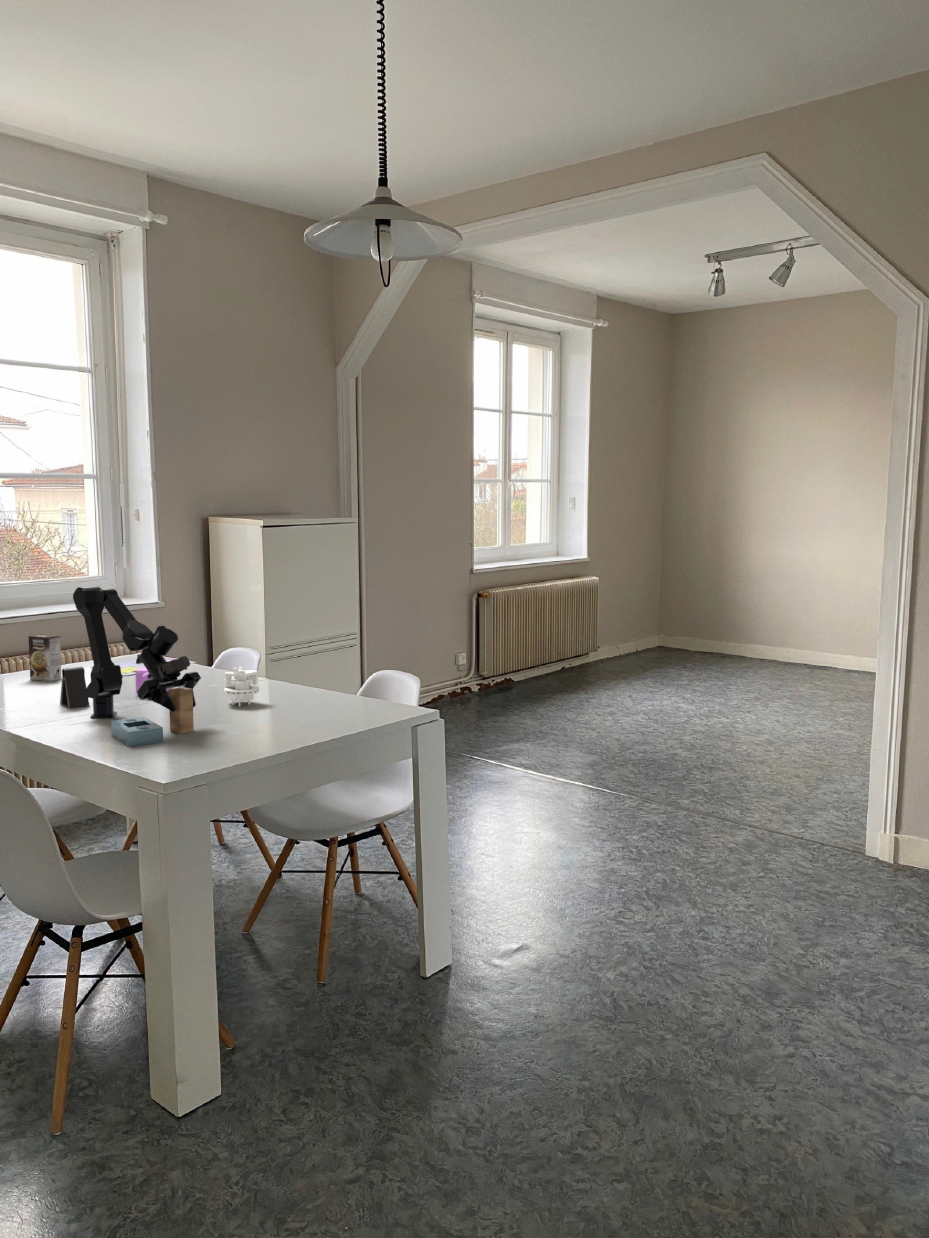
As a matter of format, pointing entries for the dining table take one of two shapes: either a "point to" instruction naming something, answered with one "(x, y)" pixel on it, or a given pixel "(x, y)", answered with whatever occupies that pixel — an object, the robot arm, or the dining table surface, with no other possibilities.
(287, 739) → the dining table surface
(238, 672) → the mechanical part
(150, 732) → the socket block
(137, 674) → the teapot
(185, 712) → the wooden square peg
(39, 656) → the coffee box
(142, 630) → the robot arm
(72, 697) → the phone stand
